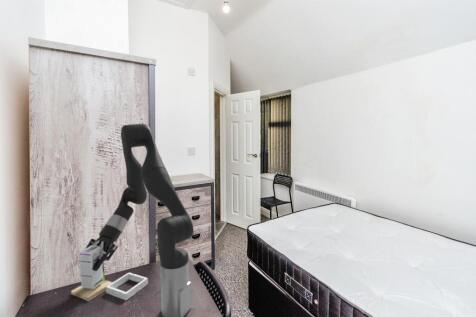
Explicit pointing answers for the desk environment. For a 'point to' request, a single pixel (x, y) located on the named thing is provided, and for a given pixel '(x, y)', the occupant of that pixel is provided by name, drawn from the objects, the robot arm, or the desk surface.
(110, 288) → the white square frame
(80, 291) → the oak board
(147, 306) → the desk surface
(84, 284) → the syrup box
